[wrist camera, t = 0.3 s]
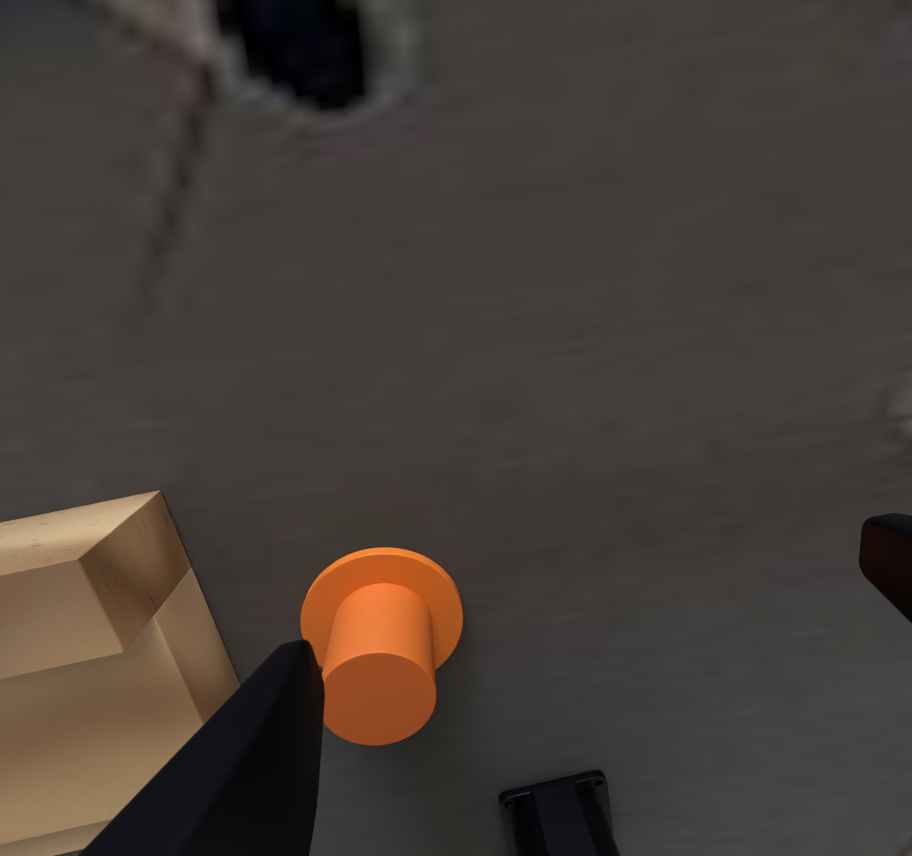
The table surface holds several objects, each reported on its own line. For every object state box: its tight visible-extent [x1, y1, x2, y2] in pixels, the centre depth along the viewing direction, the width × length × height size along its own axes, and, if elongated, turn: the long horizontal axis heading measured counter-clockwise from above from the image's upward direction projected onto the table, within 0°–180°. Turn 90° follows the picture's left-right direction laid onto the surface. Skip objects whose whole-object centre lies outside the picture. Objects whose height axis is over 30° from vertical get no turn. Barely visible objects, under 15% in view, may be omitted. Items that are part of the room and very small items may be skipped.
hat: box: [301, 547, 463, 746], centre depth 21 cm, size 8×8×5 cm
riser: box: [0, 491, 241, 856], centre depth 21 cm, size 18×14×6 cm
